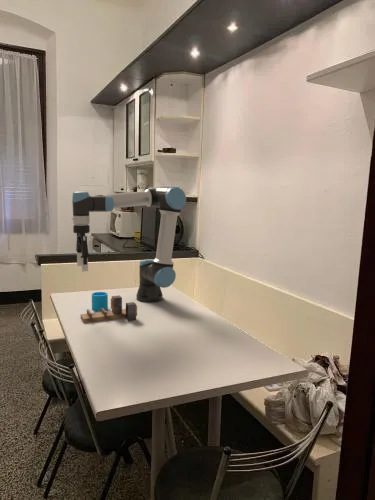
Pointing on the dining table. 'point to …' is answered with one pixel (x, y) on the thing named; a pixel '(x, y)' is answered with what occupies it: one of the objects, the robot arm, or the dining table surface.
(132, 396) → the dining table surface
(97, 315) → the rail
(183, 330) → the dining table surface
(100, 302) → the mug
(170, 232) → the robot arm
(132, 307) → the dark grey upright block
